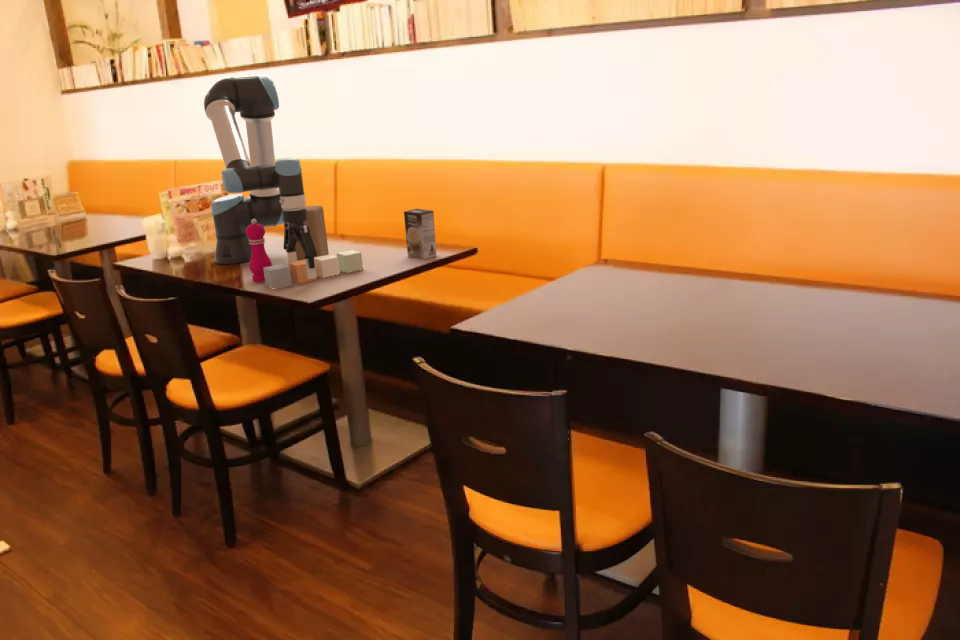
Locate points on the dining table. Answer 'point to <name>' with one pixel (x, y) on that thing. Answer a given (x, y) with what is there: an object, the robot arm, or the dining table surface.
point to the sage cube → (350, 261)
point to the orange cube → (299, 272)
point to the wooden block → (314, 232)
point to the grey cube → (277, 276)
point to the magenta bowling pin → (257, 251)
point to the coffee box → (420, 233)
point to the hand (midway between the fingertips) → (303, 275)
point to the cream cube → (327, 266)
